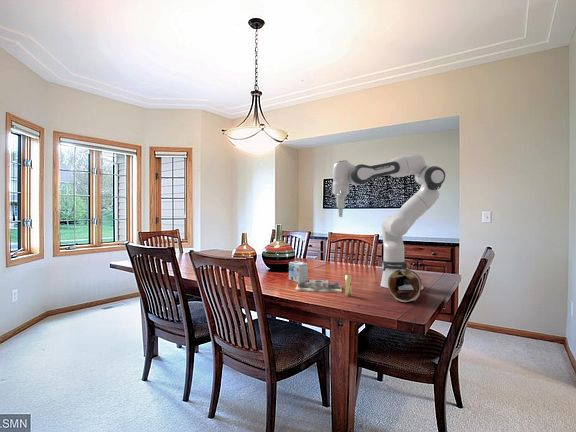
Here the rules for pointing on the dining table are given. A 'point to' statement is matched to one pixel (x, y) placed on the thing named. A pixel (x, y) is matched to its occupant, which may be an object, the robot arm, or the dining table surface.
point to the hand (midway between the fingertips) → (340, 216)
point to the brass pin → (348, 285)
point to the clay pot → (401, 279)
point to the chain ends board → (318, 286)
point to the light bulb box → (298, 271)
